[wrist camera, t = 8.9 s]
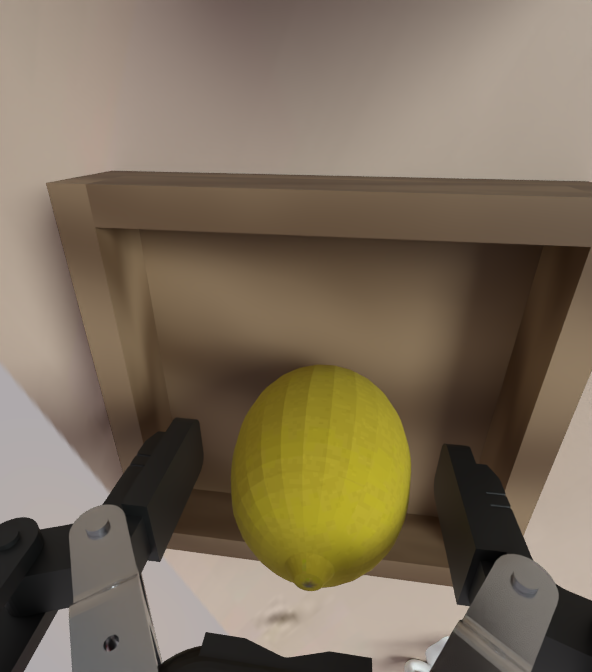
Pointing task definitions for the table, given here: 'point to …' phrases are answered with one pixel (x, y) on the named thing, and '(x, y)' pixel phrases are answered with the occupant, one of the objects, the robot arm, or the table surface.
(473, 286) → the tray
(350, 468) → the lemon
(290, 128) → the table surface
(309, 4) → the table surface
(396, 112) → the table surface
